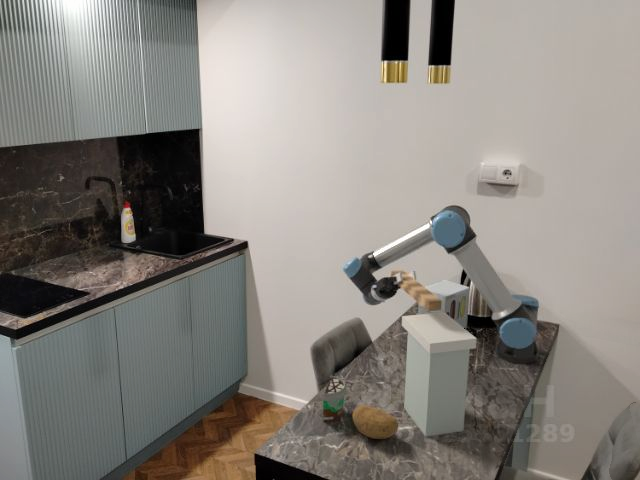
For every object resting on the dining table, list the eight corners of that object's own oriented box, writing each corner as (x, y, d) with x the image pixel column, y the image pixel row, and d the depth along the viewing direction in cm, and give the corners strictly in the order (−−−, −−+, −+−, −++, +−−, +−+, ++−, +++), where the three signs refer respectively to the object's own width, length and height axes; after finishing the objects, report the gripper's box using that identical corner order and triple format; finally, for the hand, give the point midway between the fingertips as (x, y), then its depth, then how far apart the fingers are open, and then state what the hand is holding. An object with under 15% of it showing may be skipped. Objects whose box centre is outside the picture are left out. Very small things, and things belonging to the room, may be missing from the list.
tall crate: (398, 404, 189) (402, 316, 181) (438, 398, 192) (444, 312, 184) (424, 440, 170) (430, 343, 162) (468, 433, 174) (476, 338, 166)
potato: (387, 452, 164) (388, 427, 162) (345, 435, 173) (345, 410, 170) (404, 436, 172) (405, 411, 170) (363, 420, 180) (364, 396, 178)
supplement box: (442, 339, 236) (445, 296, 232) (416, 329, 246) (418, 288, 241) (467, 327, 248) (471, 286, 243) (441, 318, 257) (444, 278, 252)
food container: (342, 426, 177) (343, 396, 174) (322, 424, 178) (322, 394, 175) (349, 405, 188) (349, 376, 186) (330, 403, 189) (330, 374, 187)
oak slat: (390, 279, 202) (391, 270, 201) (401, 278, 203) (402, 269, 202) (428, 311, 174) (429, 301, 173) (441, 310, 175) (441, 300, 174)
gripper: (408, 297, 216) (434, 284, 194) (363, 301, 211) (385, 289, 189) (404, 277, 217) (430, 262, 195) (360, 280, 213) (381, 266, 191)
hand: (408, 275), depth 192 cm, fingers closed on oak slat, 4 cm apart
